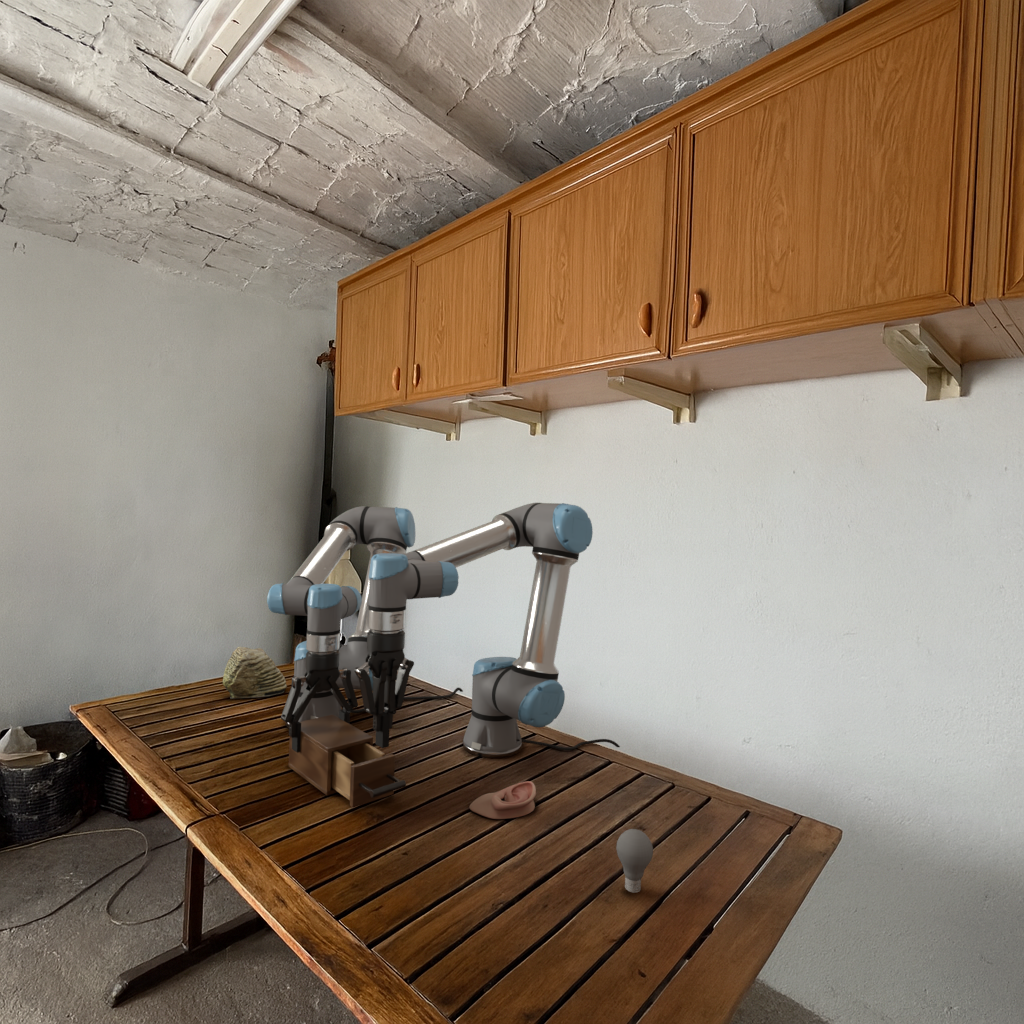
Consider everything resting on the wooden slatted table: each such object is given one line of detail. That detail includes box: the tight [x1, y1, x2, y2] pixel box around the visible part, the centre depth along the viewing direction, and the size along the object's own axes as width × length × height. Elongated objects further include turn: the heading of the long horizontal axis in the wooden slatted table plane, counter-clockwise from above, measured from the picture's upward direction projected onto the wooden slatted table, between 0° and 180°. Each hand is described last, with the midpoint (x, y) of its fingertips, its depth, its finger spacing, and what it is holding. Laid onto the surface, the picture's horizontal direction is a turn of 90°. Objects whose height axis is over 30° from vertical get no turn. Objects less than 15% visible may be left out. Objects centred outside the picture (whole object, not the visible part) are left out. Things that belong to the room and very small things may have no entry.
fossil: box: [222, 646, 288, 699], centre depth 198 cm, size 9×18×15 cm, turn 132°
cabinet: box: [288, 715, 374, 796], centre depth 145 cm, size 19×11×10 cm, turn 44°
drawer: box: [331, 743, 407, 809], centre depth 135 cm, size 24×10×8 cm, turn 44°
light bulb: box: [615, 828, 654, 894], centre depth 106 cm, size 6×6×10 cm
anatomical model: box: [468, 780, 537, 820], centre depth 133 cm, size 13×4×12 cm
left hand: (319, 744), depth 148 cm, fingers closed on cabinet, 11 cm apart
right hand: (382, 745), depth 129 cm, fingers closed
